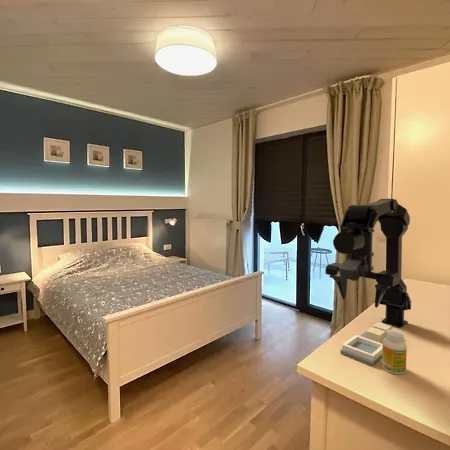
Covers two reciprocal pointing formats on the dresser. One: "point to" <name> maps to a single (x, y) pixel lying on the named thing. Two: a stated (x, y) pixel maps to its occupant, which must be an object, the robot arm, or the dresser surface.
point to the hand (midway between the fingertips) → (359, 302)
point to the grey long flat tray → (367, 345)
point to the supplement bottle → (394, 352)
